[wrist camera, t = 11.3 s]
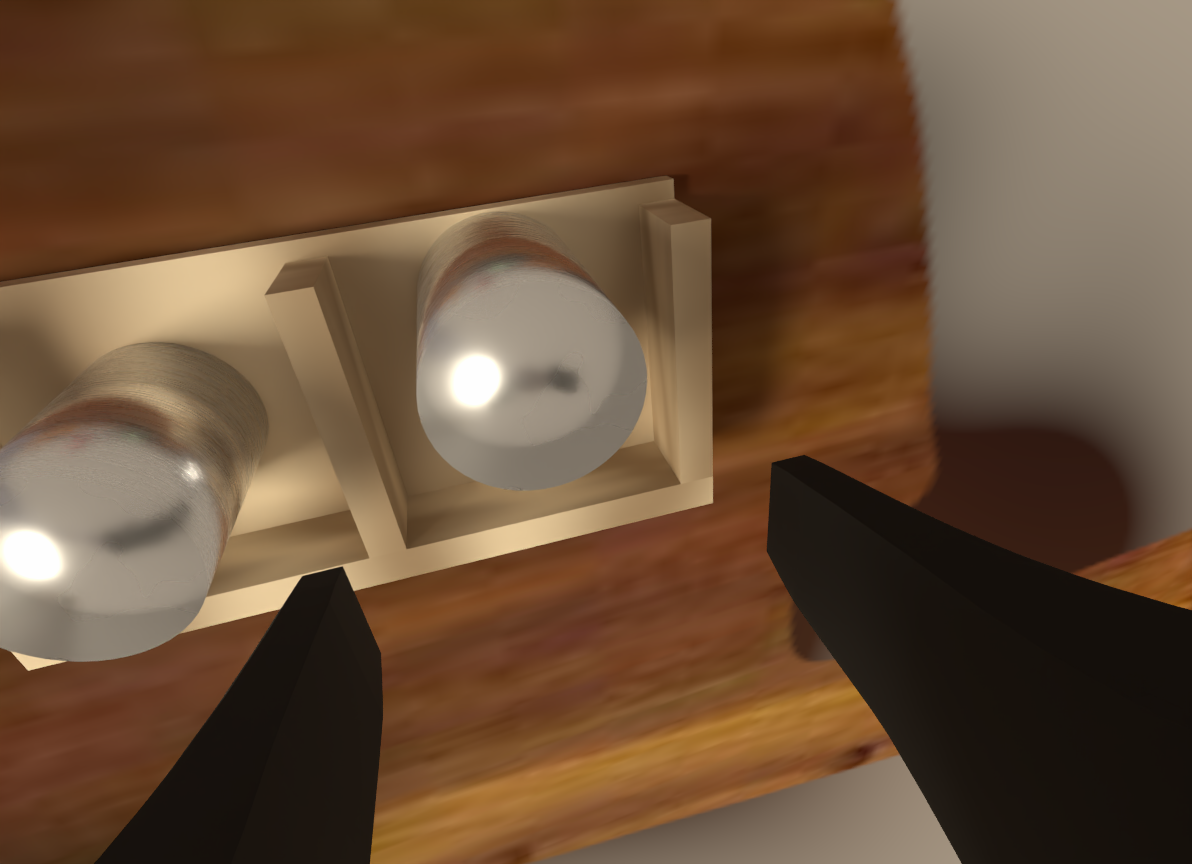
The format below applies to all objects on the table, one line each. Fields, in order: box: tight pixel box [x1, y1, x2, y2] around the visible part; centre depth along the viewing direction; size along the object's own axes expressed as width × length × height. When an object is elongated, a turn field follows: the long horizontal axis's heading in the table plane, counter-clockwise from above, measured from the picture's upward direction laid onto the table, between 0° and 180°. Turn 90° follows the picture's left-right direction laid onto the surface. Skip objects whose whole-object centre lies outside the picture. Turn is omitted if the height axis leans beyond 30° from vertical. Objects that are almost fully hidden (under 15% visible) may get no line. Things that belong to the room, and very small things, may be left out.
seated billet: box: [0, 342, 269, 662], centre depth 14 cm, size 4×4×6 cm
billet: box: [416, 212, 647, 491], centre depth 14 cm, size 4×4×6 cm
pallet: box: [0, 176, 713, 671], centre depth 17 cm, size 19×9×3 cm, turn 96°
